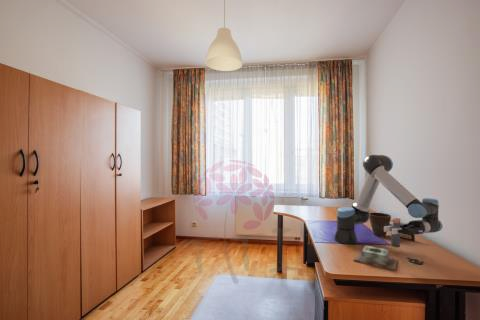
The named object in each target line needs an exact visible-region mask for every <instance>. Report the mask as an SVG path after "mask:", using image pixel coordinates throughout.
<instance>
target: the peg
mask: <svg viewBox="0 0 480 320" xmlns="http://www.w3.org/2000/svg"><path fill="white" fill-rule="evenodd" d="M400 223H401V218H398V217H391V231H390V232H391V233H390V235H391V238H390V246H391V247H393V248H401V239H400V236H401V234H392V229H394V228H400Z"/></svg>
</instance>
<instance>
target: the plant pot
mask: <svg viewBox="0 0 480 320" xmlns="http://www.w3.org/2000/svg"><path fill="white" fill-rule="evenodd" d="M369 214H370V218H369V221H370V226H371V229H372V232H373V234H374V235H375V236H376V235H377V237H385V236H386V235H387V233H388V232H384V226H389V224H390V223H391V220H392V215H391V214H388V213H384V212H383V213H382V212H369Z"/></svg>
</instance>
